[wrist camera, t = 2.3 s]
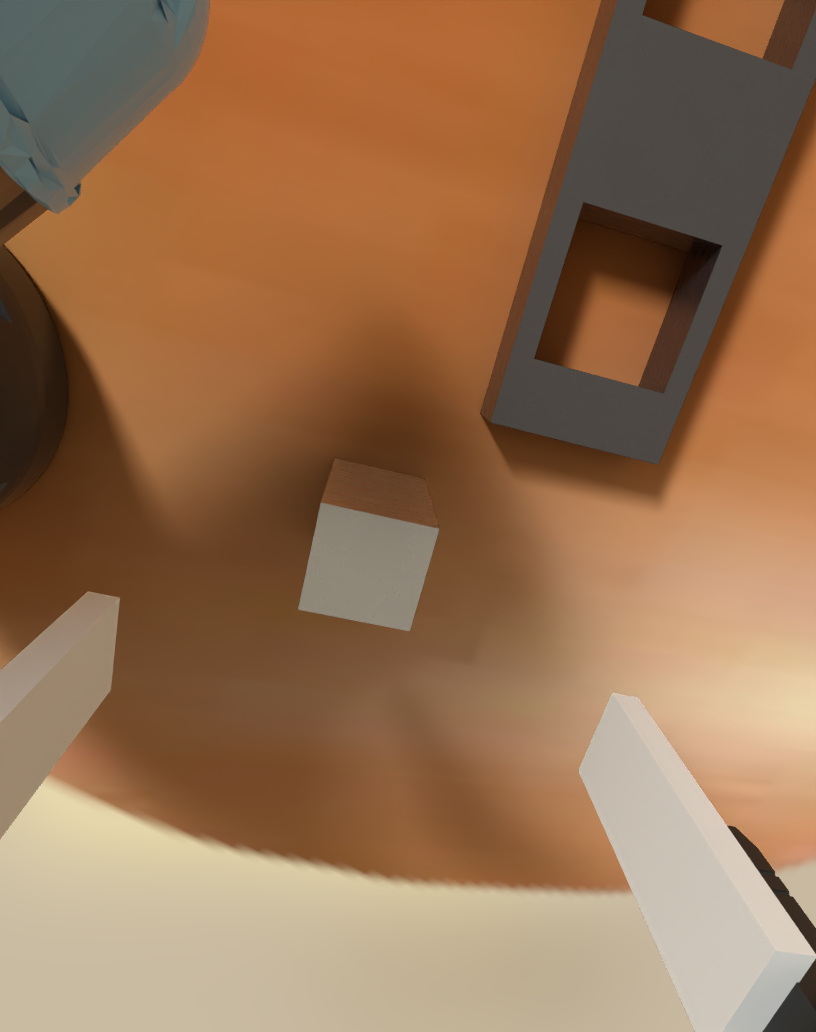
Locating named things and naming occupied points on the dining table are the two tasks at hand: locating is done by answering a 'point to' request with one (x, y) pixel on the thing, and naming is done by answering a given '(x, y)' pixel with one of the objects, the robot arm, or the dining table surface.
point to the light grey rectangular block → (370, 546)
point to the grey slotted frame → (652, 209)
